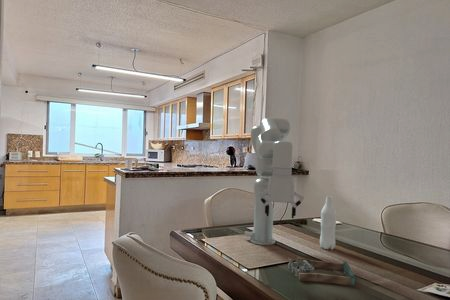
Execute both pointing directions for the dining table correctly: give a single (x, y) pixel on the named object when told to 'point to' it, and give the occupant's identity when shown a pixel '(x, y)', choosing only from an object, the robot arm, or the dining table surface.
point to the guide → (325, 277)
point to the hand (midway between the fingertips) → (280, 216)
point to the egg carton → (300, 267)
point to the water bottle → (328, 224)
